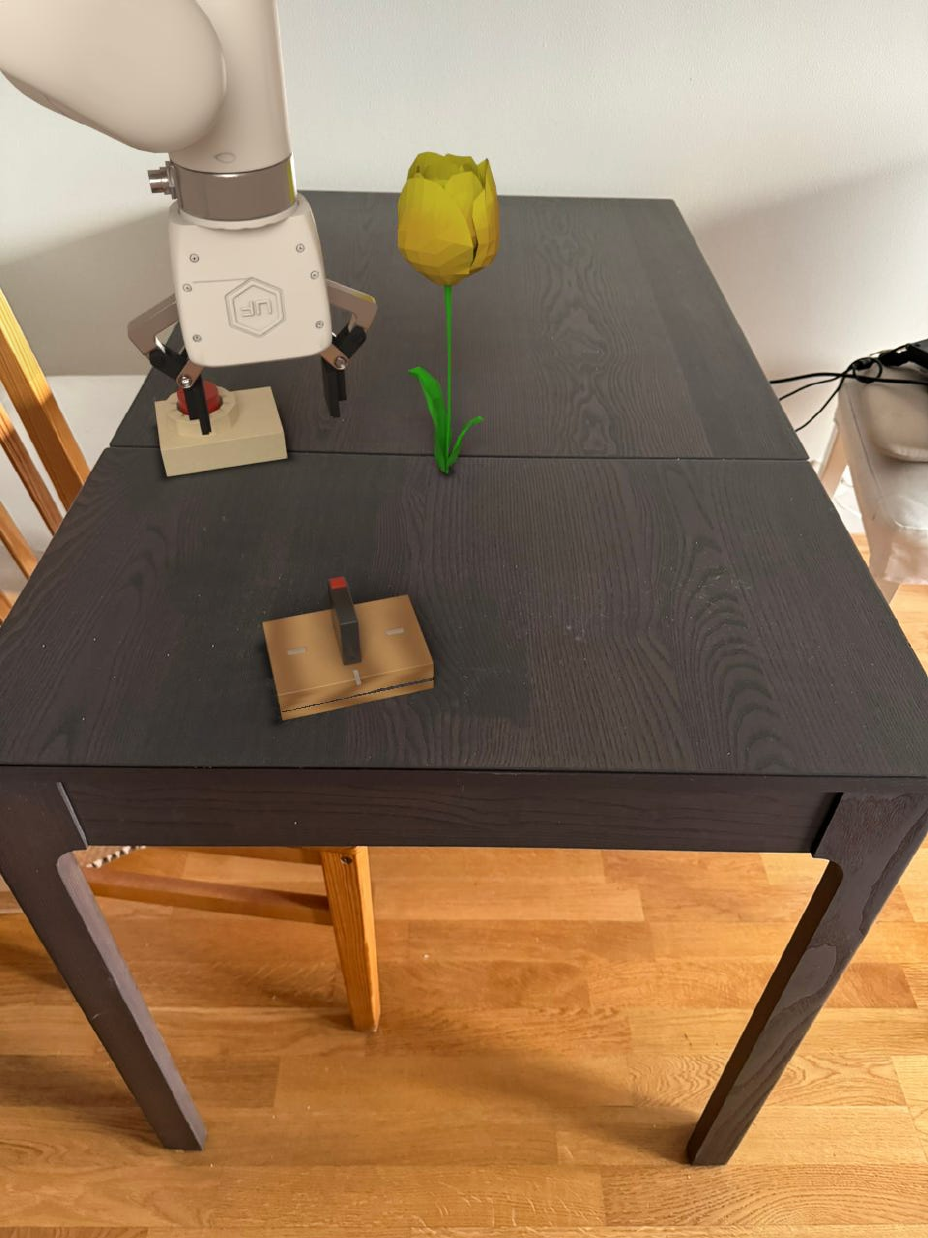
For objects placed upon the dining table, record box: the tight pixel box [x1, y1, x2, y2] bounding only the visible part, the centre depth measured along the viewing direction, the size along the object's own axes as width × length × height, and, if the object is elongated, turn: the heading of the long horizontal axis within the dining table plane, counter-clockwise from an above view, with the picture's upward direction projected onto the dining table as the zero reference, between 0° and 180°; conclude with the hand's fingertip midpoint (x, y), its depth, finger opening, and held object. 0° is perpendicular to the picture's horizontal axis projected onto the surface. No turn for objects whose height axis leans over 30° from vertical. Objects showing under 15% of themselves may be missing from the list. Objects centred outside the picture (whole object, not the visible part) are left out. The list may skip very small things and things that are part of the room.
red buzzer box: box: [154, 385, 288, 477], centre depth 95 cm, size 12×9×5 cm
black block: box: [326, 576, 361, 665], centre depth 71 cm, size 5×1×5 cm, turn 16°
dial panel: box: [261, 594, 435, 721], centre depth 74 cm, size 12×9×3 cm
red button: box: [176, 380, 221, 415], centre depth 92 cm, size 4×4×2 cm
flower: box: [396, 151, 501, 474], centre depth 83 cm, size 9×8×30 cm
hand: (270, 416), depth 71 cm, fingers open, 9 cm apart
